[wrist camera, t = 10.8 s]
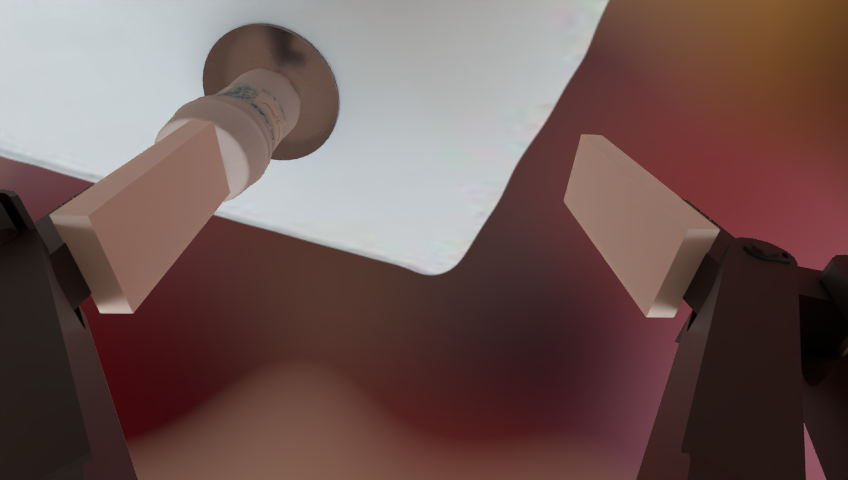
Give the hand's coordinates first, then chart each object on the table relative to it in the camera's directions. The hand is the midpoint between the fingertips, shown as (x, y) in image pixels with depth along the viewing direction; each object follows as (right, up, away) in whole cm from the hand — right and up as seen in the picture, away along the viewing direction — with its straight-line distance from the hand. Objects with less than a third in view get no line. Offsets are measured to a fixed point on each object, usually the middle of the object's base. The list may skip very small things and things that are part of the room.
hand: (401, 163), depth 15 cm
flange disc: (-14, +12, +26) cm, 32 cm away
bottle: (-14, +11, +25) cm, 31 cm away
